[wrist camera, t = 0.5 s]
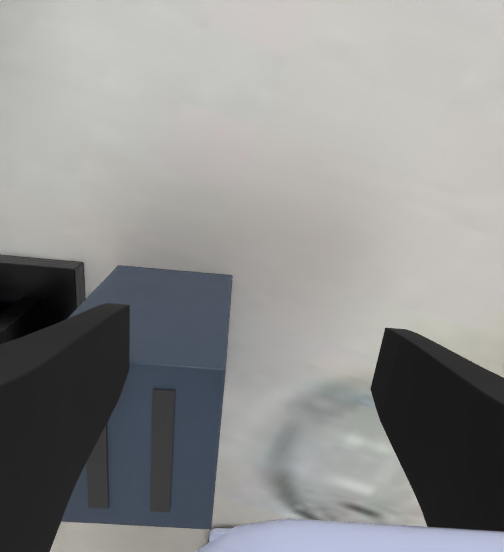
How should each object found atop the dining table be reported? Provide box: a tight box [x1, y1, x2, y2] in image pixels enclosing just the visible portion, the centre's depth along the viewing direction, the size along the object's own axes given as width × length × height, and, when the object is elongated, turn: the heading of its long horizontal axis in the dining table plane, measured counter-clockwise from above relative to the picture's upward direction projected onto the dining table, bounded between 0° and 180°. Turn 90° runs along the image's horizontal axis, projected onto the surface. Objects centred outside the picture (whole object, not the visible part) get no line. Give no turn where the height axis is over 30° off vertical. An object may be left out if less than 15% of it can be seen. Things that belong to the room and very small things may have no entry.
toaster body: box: [61, 266, 233, 529], centre depth 18 cm, size 7×6×9 cm
